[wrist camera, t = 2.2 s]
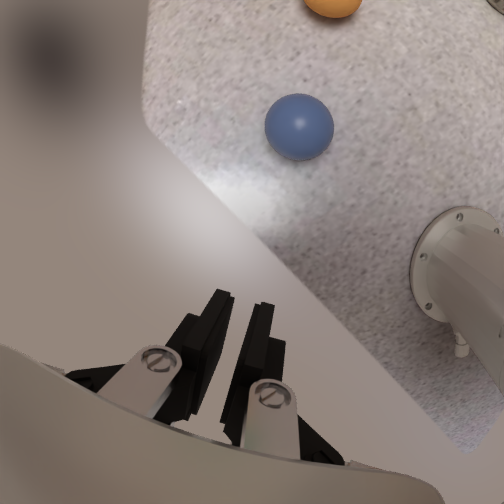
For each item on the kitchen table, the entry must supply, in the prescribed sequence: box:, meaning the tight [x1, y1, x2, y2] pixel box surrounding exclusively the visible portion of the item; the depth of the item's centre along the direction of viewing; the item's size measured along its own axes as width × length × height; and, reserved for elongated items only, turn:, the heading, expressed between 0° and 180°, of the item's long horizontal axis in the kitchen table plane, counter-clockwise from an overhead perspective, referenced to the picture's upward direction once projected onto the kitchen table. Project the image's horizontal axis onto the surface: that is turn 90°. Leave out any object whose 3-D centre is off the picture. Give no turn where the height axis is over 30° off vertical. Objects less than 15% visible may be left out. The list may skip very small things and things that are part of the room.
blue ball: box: [265, 94, 334, 160], centre depth 22 cm, size 6×6×6 cm
